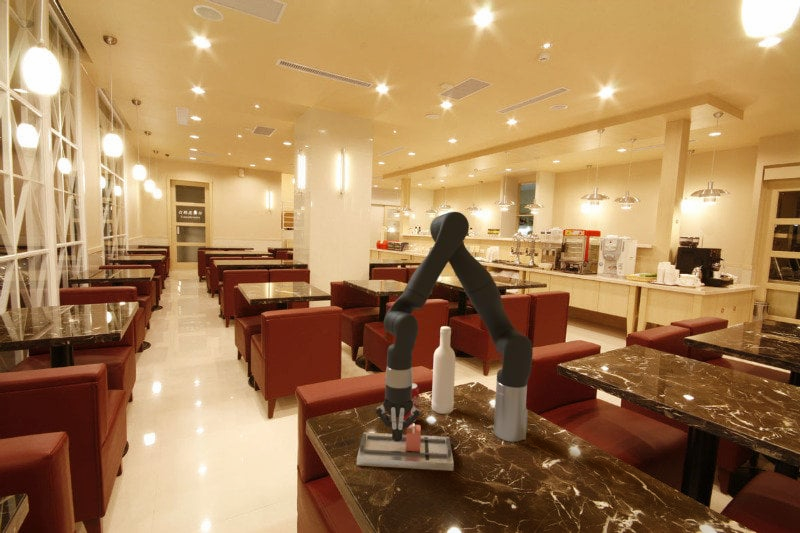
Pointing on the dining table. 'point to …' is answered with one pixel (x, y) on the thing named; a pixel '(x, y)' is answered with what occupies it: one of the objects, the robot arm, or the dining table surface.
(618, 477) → the dining table surface
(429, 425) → the dining table surface
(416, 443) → the fader knob
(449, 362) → the bottle
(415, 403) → the beverage can
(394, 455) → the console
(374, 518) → the dining table surface
